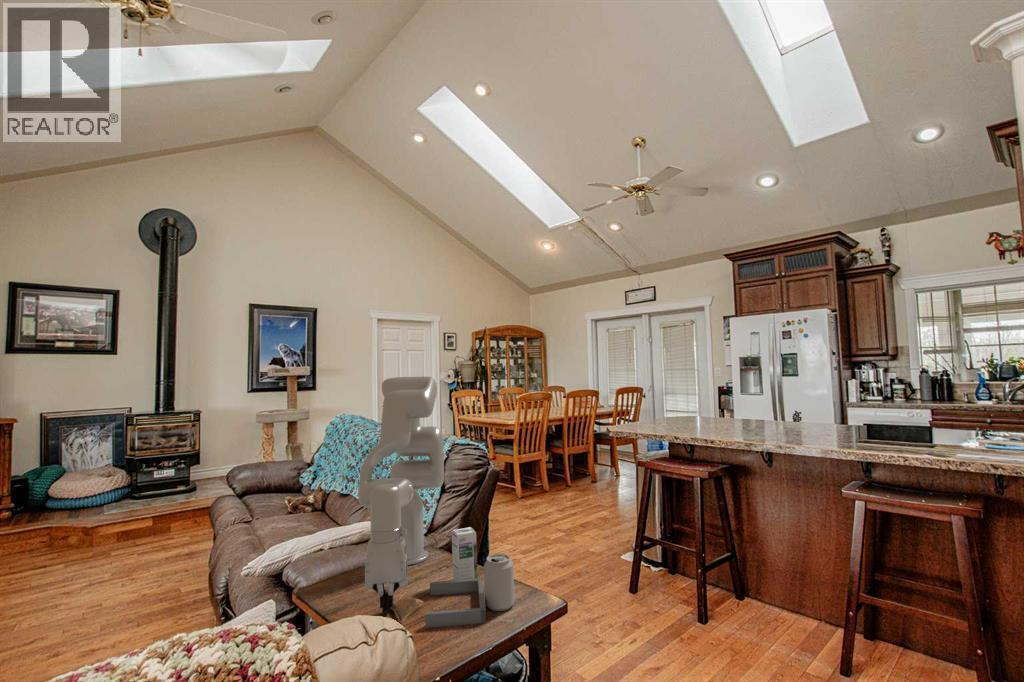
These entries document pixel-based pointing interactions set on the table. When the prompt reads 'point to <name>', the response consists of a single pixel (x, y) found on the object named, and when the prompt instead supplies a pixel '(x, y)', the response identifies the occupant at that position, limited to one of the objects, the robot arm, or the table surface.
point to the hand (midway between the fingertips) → (386, 610)
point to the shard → (405, 607)
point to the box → (462, 614)
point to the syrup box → (464, 554)
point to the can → (499, 582)
